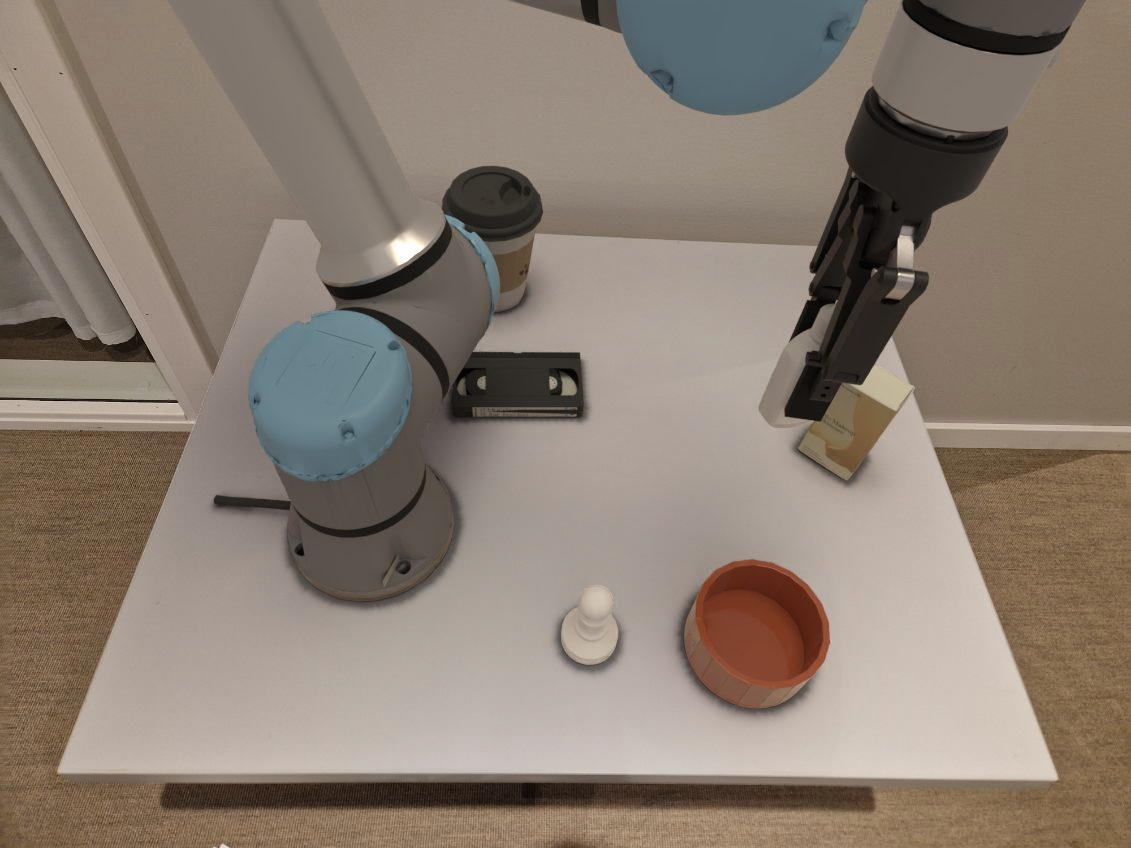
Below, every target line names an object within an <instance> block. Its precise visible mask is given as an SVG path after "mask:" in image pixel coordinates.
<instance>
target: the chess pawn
mask: <svg viewBox="0 0 1131 848" xmlns="http://www.w3.org/2000/svg"><path fill="white" fill-rule="evenodd" d="M614 601H615V600H614V597H613V594H612V592H611V590H609V589H608V588H607V587H606V586H604V585H602V584H591V585H589V586H586V587H585V588H583V590H582V591H581V592H580V595H579V598H578V604H577V606H576V607H574V608H573V609H571V610H570V611H569V612H568V613H567V614H566V616H565V617H564V619H563V621H562V624H561V629H560V641H561V646H562V648H563V650H564V652H565V653H566V655H568V657H569V658H570V659H572V660H573V661H574V662H576V663H579V664H581V665H585V666H586V665H587V666H594V665H598V664H601V663H603V662H605V661H607V660H608V659H609V658H610V657H611V656H612V654H613V653H614V652H615V650H616V646H617V643H618V640H619V627H618V623H617V621H616V619H615V618H614V616H613V614H612V613H613V612H612V611H613V608H614Z"/></svg>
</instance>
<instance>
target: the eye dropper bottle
mask: <svg viewBox="0 0 1131 848" xmlns="http://www.w3.org/2000/svg"><path fill="white" fill-rule="evenodd" d="M836 303H837V301H836ZM836 303H835V304H827V305H825V306H823V307H822V308H821V309H820V311H819V313H818V315H817V318H816V320H815V322H814V324H813V326H812V328H811V329H808V330H806V331H804V332H802V333H800V334H799V335H797V336H796V337H795V338H793V339H792V340H791V341H790V342H789V341H788V342H787V343H786V345H785V346H784V348H783V349H782V350H781V351H782V352H781V354H780V355H779V358H778V360H777V363H776V365H775V367H774V369H773V371H772V373H771V376H770V378H769V379H768V382H767V385H766V387H765V390H764V391H763V394H762V396H761V399H760V401H759V403H758V407H757V410H758V412H759V414H760V415H761V416H762V418H763V419H764V421H765V422H766V423H767V425H769V426H770V427H772V428H775V429H788V428H789V429H790V428H796V427H800V426H804V425H807V424H808V423H811V422H813V421H812V420H804V419H797V418H790V417H785V412H784V409H785V407H786V404H787V402H788V400H789V398H790V396H791V394H792V392H793V390H794V388H795V386H796V384H797V381H798V379H799V377H800V375H801V373H802V371H803V369H804V367H805V365H806V364H805V357H806V353H807V352H812V351H819V349H820V346H821V343H822V341H823V338H824V335H825V333H826V330H827V327H828V325H829V322H830V319H831V317H832V314H833V311H834V309H835V306H836Z"/></svg>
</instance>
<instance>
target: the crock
mask: <svg viewBox="0 0 1131 848" xmlns="http://www.w3.org/2000/svg"><path fill="white" fill-rule="evenodd" d="M683 643H684V650H685V653H686V658H687V660H688V663H689V665H690V666H691V669H692V670H693V672H694V674H695V675H696V677H697V678H698V679H699V681H700V682H701V683H702V684H703V685H704V686H705V687H706V688H707V689H708V690H709V691H710V692H712V693H713V694H714V695H716V696H717V697H718V698H720V699H721V700H724V701H725V702H727V703H729V704H732V705H734V706H738V707H742V708H745V709H755V710H756V709H757V710H758V709H768V708H773V707H776V706H778V705H781V704H783V703H785V702H786V701H788V700H790V698H792V697H794V696H795V695H796V694H797V693H798V692H799V691H800V690H801V689H802V688H803V687H804V686H805V685H806V684H807V683H808V682H809V681H810V680H811V679H812V678H813V677H814V675H815V674H816V673H817V672H818V671H819V669H820V668H821V667H822V665H823V664H824V663H825V661H826V659H827V655H828V651H829V648H830V645H831V635H830V622H829V618H828V616H827V614H826V610H825V608H824V606H823V603H822V601H821V600H820V599H819V597H818V596H817V594H816V593H815V592H814V591H813V589H812V588H811V587H810V585H809V584H808V583H807V582H806V581H804V580H803V579H802V578H801V577H799V576H798V575H797V574H796V573H794V572H793V571H792V570H789V569H788V568H785V567H783V566H781V565H778V564H776V563H774V562H772V561H771V562H770V561H765V560H759V559H755V558H753V559H751V558H750V559H742V560H734V561H731V562H728V563H727V564H725V565H722V566H720V567H718V568H716V569H715V570H714V571H713V572H712V573H711V574H710V575H709V576H708V577H707V578H706V579H705V580H704V581H703V583H702V584H701V587H700V589H699V591H698V592H697V595H696V597H695V599H694V601H693V604H692V606H691V608H690V610H689V613H688V615H687V617H686V620H685V625H684V630H683Z"/></svg>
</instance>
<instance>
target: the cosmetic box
mask: <svg viewBox="0 0 1131 848" xmlns="http://www.w3.org/2000/svg"><path fill="white" fill-rule="evenodd" d="M915 387H916V386H914V385H913V384H910V383H909V382H907V381H906V380H904V379H902V378H901V377H899V376H897V375H895V374H894V373H892V372H891V371H889V370H888V369H886V368H884V367H882V366H880V365H878V364H876V363H875V364H874V366H873V368H872V369H871V371H870V373H869V374H868V376H867V378H866V379H865V381H864V383H863V384H862V385H854V384H846V383H842V384H841V386H840V388H839V389H838V391H837V393H836V395H835V397H834V398H833V400H832V402H831V404H830V406H829V408H828V409H827V411H826V413H825V415H824V417H823V418H822V420H821V422H819V421H812V423H811V424H810V427H809V428H808V430H807V432H806V434H805V435H804V436H803V438H802V440H801V441H800V444H799V445H798V447H797V449H798V451H799V452H801V453H802V454H804V455H805V456H807V457H809V458H810V459H811V460H813V461H815V463H817V464H819V465H820V466H822V467H824V468H825V469H827V470H829V471H830V472H832V473H833V474H835V475H837V476H838V477H839V478H841V479H843V480H844V481H846V482H847V481H849V480H850V478H851V477H852V476H853V475H854V473H855V472H856V470H857V469H858V468H859V467H860V465H861V464H862V462H863V461H864V460H865V458H866V457H867V455H868V454H869V453H870V452H871V450H872V449H873V448H874V447H875V445H876V443H878V441H879V439H880V438H881V437H882V435H883V434H884V432H885V431H886V430H887V428H888V427H889V425H890V424H891V423H892V421H893V420H894V418H895V417H896V415H897V414H898V413H899V411H900V410H901V409H902V407H903V406H904V405H905V403H906V402H907V401H908V400H909V398H910V396H911V395H912V394H913V392H915V389H916V388H915Z"/></svg>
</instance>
